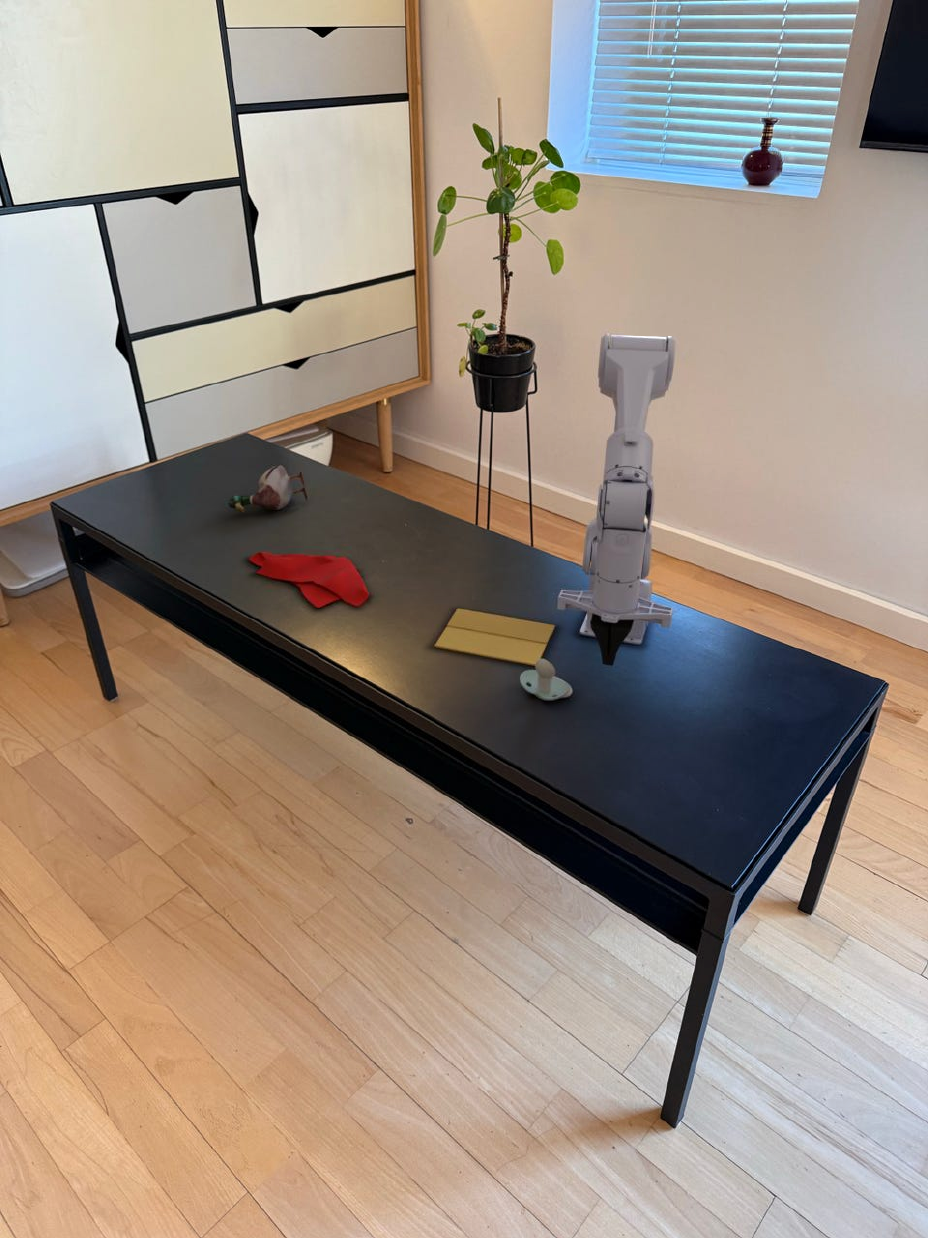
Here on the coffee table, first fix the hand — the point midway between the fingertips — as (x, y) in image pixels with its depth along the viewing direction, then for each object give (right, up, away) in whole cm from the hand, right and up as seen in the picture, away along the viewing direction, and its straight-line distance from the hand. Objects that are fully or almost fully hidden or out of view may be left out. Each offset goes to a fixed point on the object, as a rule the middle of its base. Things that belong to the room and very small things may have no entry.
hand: (608, 661), depth 118 cm
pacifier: (-8, -5, +6) cm, 11 cm away
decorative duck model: (-59, +28, +59) cm, 87 cm away
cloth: (-45, +13, +34) cm, 58 cm away
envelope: (-15, +3, +18) cm, 23 cm away
